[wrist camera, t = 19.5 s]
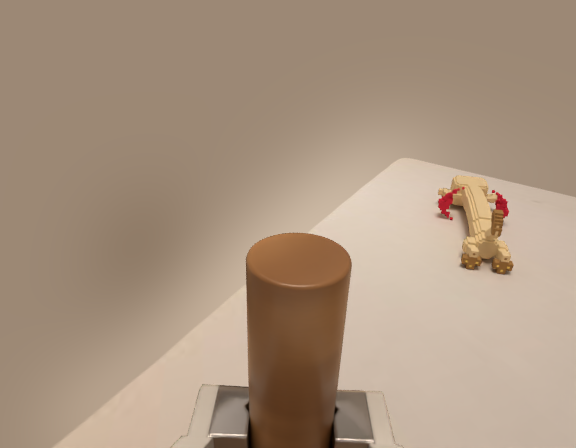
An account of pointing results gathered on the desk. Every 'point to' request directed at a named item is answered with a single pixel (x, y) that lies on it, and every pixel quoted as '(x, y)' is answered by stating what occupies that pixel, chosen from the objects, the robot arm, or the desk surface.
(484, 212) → the cat figure
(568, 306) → the desk surface
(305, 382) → the stirring stick
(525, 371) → the desk surface
